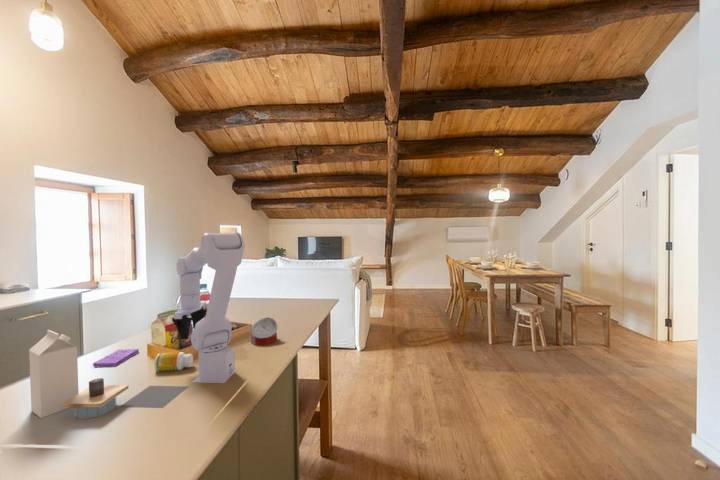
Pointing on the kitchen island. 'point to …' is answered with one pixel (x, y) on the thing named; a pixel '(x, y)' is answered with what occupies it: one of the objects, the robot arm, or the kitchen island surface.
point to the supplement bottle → (172, 361)
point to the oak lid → (95, 394)
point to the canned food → (264, 332)
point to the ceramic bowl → (95, 410)
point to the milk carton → (52, 373)
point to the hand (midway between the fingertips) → (191, 335)
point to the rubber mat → (155, 396)
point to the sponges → (115, 358)
